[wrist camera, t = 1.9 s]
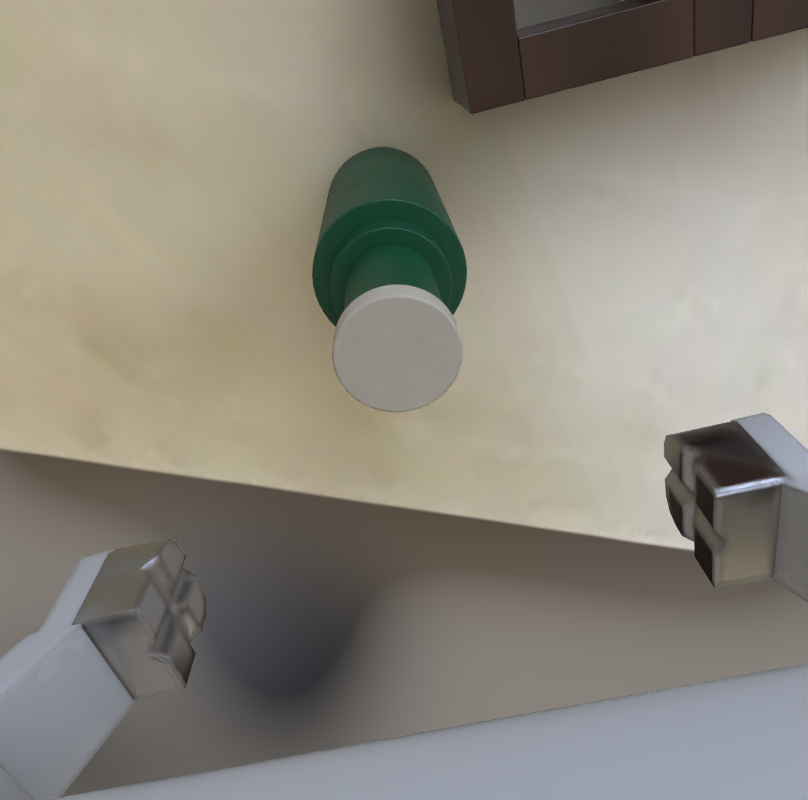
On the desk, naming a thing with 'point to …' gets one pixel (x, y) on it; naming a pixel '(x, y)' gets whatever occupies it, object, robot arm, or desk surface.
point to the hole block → (592, 42)
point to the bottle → (390, 281)
